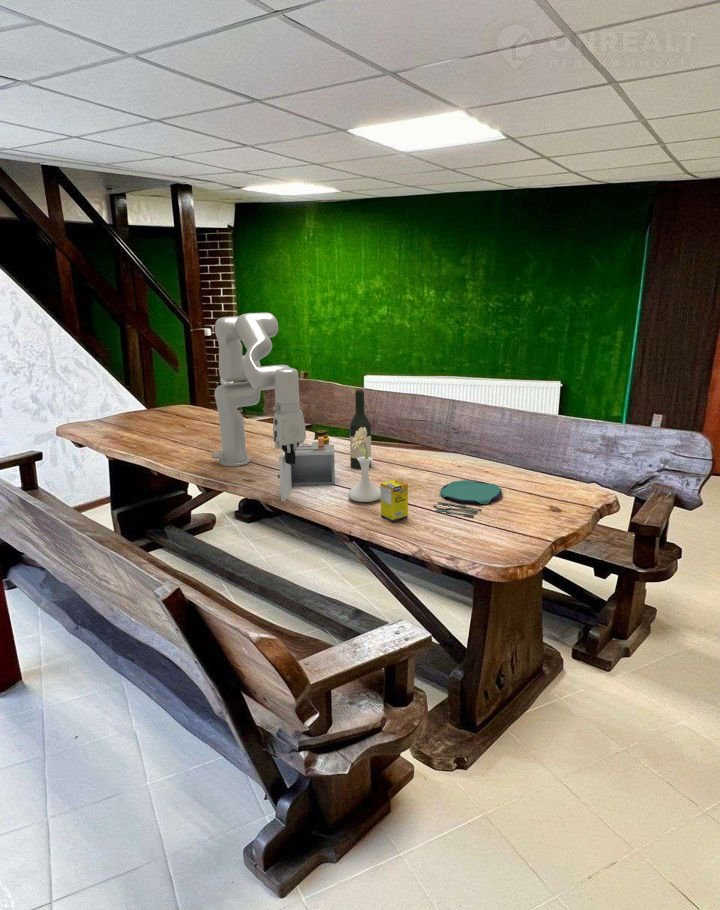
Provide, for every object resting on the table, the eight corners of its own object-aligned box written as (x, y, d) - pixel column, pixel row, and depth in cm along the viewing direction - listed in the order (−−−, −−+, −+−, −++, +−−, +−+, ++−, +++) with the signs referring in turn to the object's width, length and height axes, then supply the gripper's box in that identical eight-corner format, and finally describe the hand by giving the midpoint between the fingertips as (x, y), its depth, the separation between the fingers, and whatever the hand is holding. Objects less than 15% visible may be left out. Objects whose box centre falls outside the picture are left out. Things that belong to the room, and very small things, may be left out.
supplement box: (408, 518, 182) (408, 483, 179) (392, 522, 179) (392, 487, 176) (395, 512, 187) (395, 478, 184) (380, 516, 183) (380, 482, 180)
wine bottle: (356, 470, 229) (354, 392, 221) (346, 465, 236) (344, 388, 228) (375, 467, 233) (374, 389, 224) (365, 462, 240) (364, 386, 232)
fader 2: (318, 446, 216) (317, 438, 216) (318, 444, 219) (318, 437, 218) (323, 446, 216) (323, 438, 216) (323, 444, 219) (323, 436, 218)
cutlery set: (509, 491, 204) (509, 484, 204) (478, 522, 180) (478, 515, 179) (454, 483, 214) (454, 476, 214) (417, 511, 190) (417, 504, 189)
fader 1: (312, 449, 212) (312, 441, 212) (312, 447, 215) (312, 439, 214) (318, 449, 213) (317, 441, 212) (318, 447, 215) (318, 439, 214)
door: (286, 486, 213) (284, 446, 209) (292, 486, 213) (290, 446, 209) (278, 501, 198) (275, 458, 194) (285, 501, 198) (282, 458, 194)
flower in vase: (348, 493, 204) (347, 420, 198) (382, 493, 204) (382, 420, 197) (346, 507, 192) (345, 430, 185) (382, 507, 191) (382, 429, 185)
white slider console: (289, 485, 213) (287, 452, 210) (291, 477, 222) (289, 445, 219) (334, 484, 213) (333, 451, 210) (334, 476, 223) (334, 444, 220)
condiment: (333, 460, 243) (332, 431, 240) (315, 464, 238) (314, 434, 235) (324, 456, 249) (323, 428, 245) (306, 460, 244) (305, 431, 241)
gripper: (274, 413, 184) (278, 470, 189) (313, 405, 193) (315, 461, 198) (261, 409, 189) (264, 465, 194) (299, 402, 199) (301, 456, 204)
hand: (290, 463), depth 196 cm, fingers closed
